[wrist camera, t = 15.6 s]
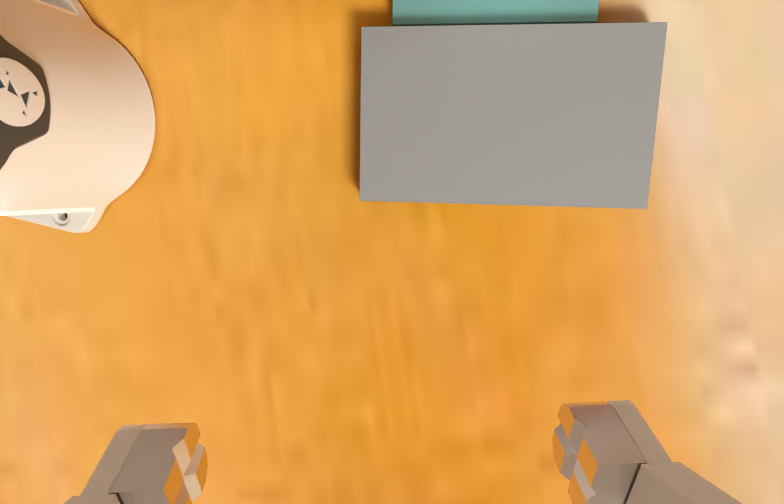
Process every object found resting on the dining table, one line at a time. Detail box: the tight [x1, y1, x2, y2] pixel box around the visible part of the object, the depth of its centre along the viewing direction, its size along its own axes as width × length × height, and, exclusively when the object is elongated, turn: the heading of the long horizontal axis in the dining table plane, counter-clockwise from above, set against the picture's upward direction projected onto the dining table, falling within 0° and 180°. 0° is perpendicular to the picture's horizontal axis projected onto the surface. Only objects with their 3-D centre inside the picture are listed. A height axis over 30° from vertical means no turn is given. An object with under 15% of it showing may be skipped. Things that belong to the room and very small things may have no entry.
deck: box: [360, 22, 667, 209], centre depth 33 cm, size 20×12×2 cm, turn 89°
